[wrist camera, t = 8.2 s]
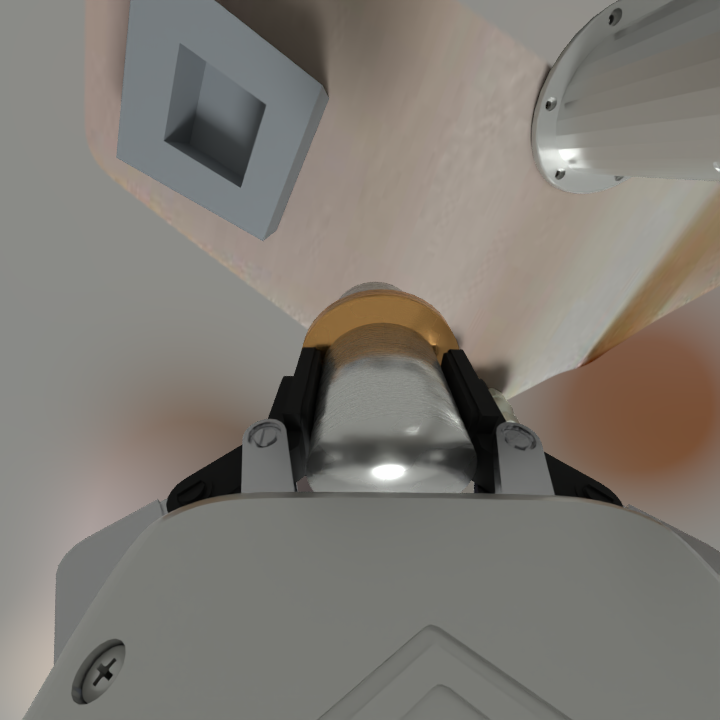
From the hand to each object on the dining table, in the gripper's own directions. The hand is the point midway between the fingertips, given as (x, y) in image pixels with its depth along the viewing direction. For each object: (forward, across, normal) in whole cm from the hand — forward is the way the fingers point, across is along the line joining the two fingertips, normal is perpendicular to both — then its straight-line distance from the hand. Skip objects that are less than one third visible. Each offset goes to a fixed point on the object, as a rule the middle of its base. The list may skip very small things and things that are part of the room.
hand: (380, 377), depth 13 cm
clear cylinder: (+5, 0, 0) cm, 5 cm away
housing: (+22, +12, -10) cm, 27 cm away
